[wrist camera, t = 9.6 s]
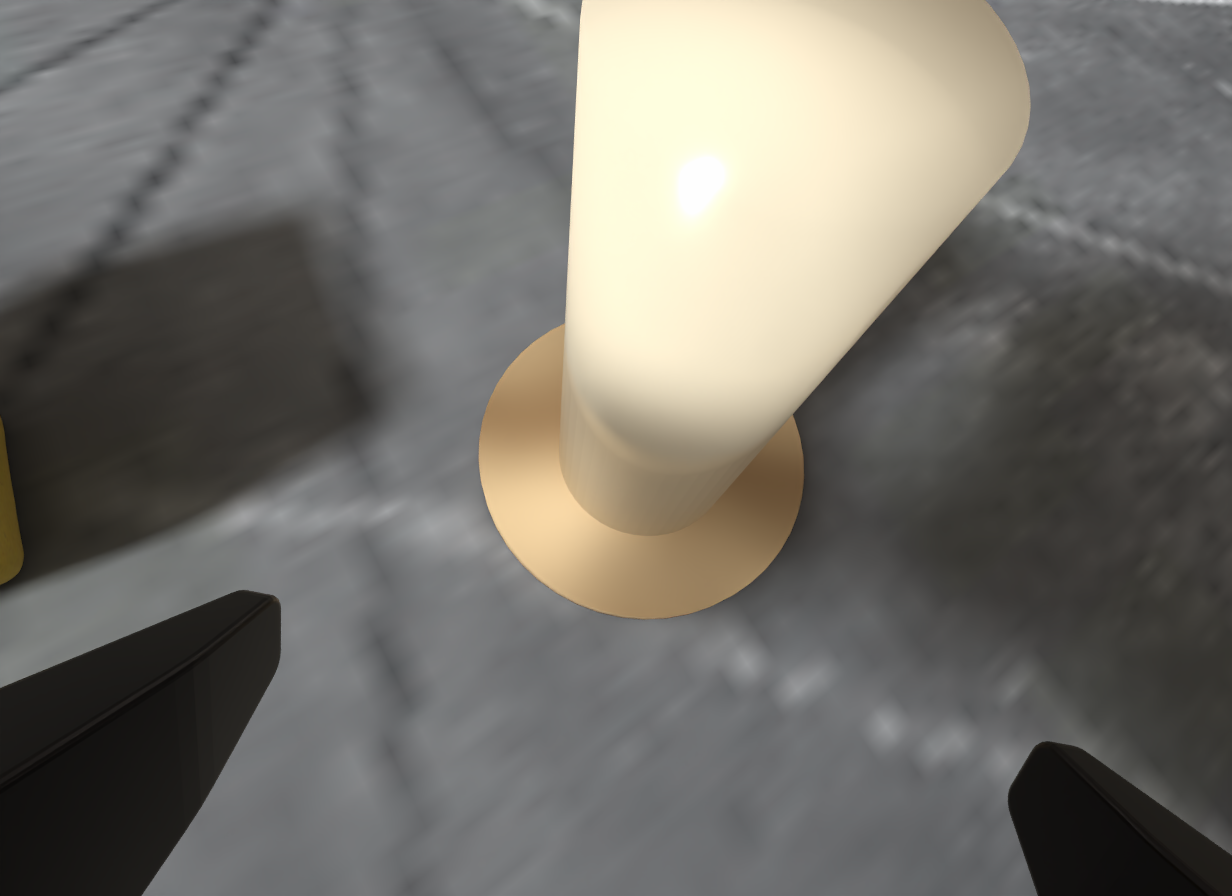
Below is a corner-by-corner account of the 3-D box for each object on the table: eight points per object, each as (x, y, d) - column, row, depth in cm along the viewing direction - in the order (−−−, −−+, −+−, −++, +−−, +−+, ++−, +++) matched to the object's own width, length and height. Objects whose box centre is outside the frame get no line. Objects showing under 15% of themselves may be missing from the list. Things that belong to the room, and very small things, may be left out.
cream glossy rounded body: (756, 500, 19) (1122, 162, 7) (596, 561, 18) (698, 283, 6) (686, 356, 21) (883, -121, 9) (534, 404, 19) (515, -72, 7)
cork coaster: (812, 623, 18) (820, 621, 18) (465, 615, 17) (462, 613, 17) (782, 329, 22) (788, 319, 22) (494, 309, 21) (492, 298, 21)
